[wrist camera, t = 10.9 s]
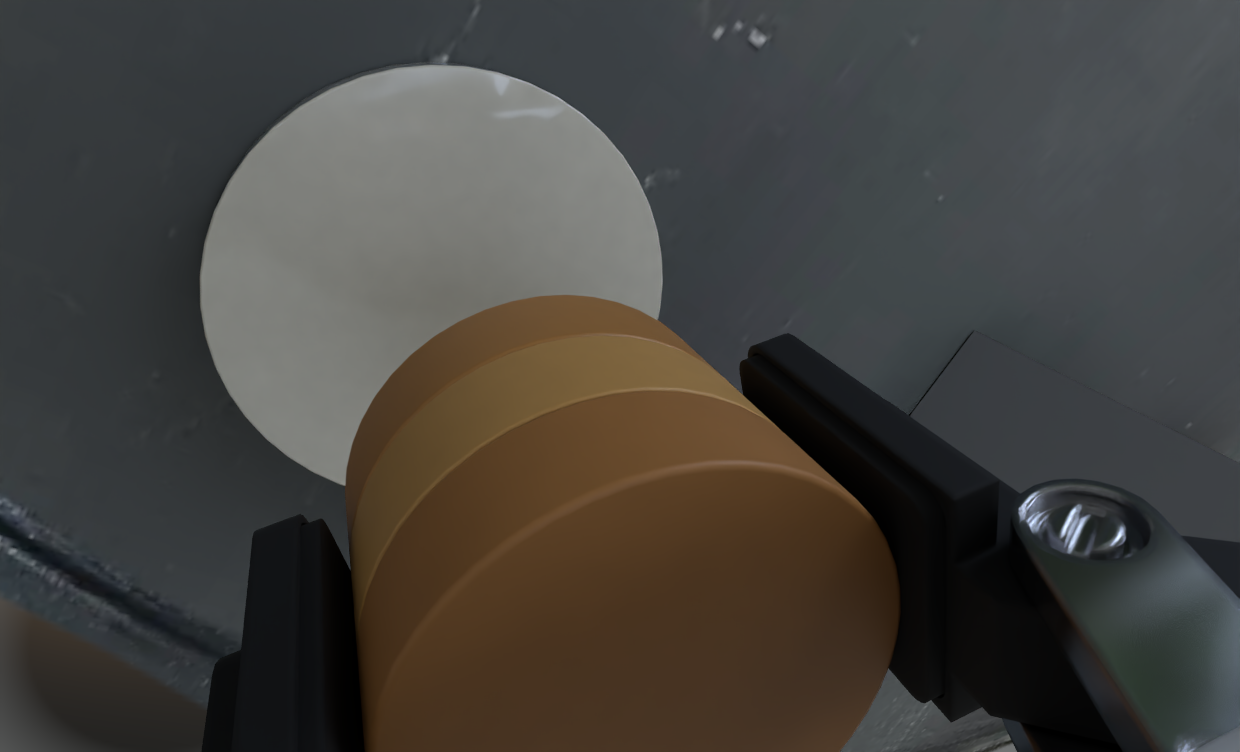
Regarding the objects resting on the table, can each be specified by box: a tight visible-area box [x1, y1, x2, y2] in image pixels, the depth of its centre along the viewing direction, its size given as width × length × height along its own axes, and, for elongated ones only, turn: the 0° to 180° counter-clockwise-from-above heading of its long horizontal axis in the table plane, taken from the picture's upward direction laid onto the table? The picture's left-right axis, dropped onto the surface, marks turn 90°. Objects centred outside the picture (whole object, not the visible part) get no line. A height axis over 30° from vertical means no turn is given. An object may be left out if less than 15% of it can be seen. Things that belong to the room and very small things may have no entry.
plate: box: [200, 62, 663, 486], centre depth 18 cm, size 10×10×1 cm
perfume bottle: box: [910, 330, 1240, 542], centre depth 19 cm, size 7×7×18 cm
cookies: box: [345, 295, 901, 752], centre depth 10 cm, size 6×6×4 cm
